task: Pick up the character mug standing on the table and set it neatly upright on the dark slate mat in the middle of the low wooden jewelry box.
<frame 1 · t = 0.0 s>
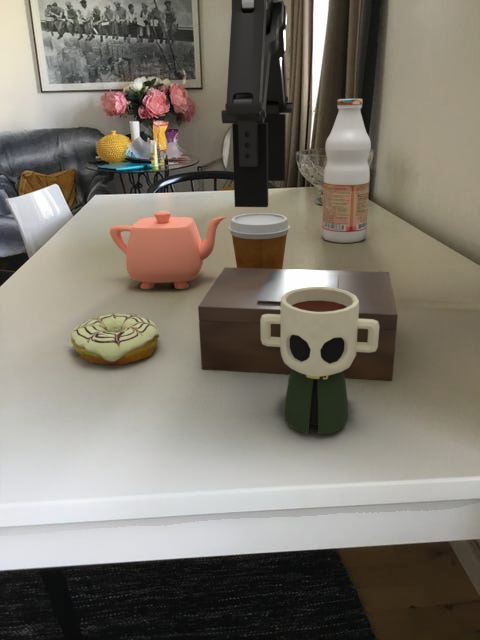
hand: (263, 192, 53), 22 cm above the table, tool pointing down, fingers open, 13 cm apart
wooden jewelry box: (299, 347, 72), on the table
character mug: (315, 423, 56), on the table
fruit juice: (343, 239, 122), on the table
decorated donut: (117, 352, 73), on the table
disposable coffee cup: (260, 293, 92), on the table
teapot: (172, 282, 98), on the table
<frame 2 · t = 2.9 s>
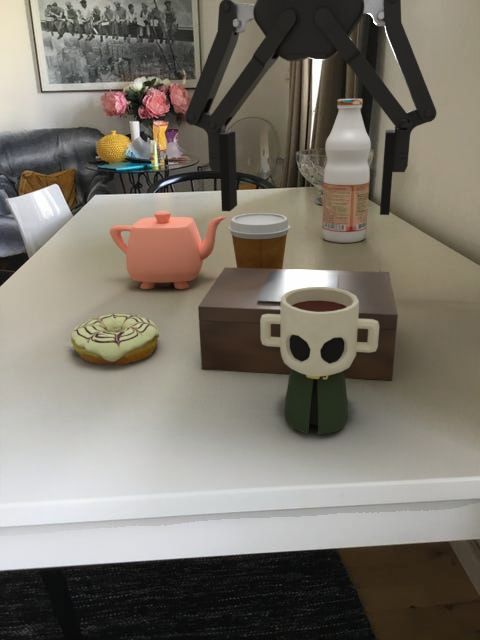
hand: (304, 210, 50), 21 cm above the table, tool pointing down, fingers open, 13 cm apart
nothing on the table moved.
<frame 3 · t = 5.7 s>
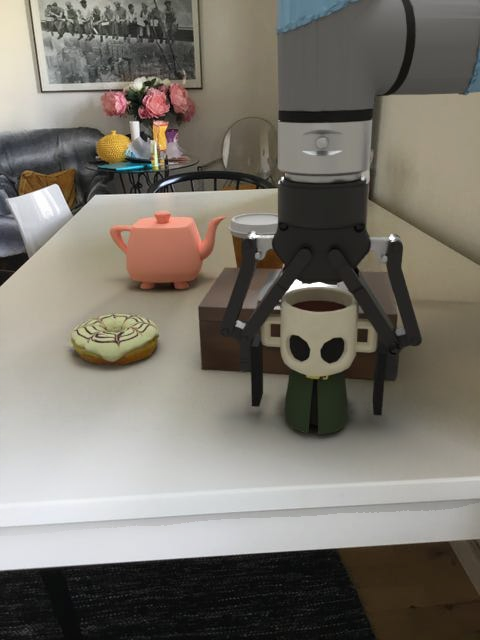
hand: (316, 403, 55), 2 cm above the table, tool pointing down, fingers closed on character mug, 11 cm apart
character mug: (315, 423, 56), on the table, touching gripper
everything else where it was.
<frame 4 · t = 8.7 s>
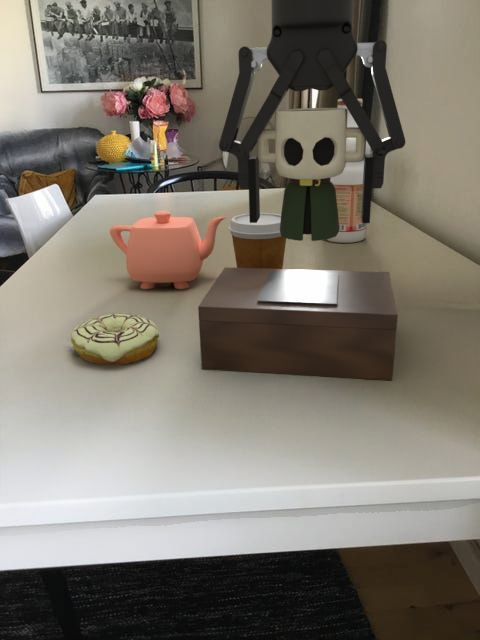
hand: (309, 220, 60), 18 cm above the table, tool pointing down, fingers closed on character mug, 11 cm apart
character mug: (309, 240, 61), point 15 cm above the table, touching gripper
everything else where it was.
when the fingers open (10 cm above the table, at t = 11.7 s): character mug stays where it is, resting on wooden jewelry box.
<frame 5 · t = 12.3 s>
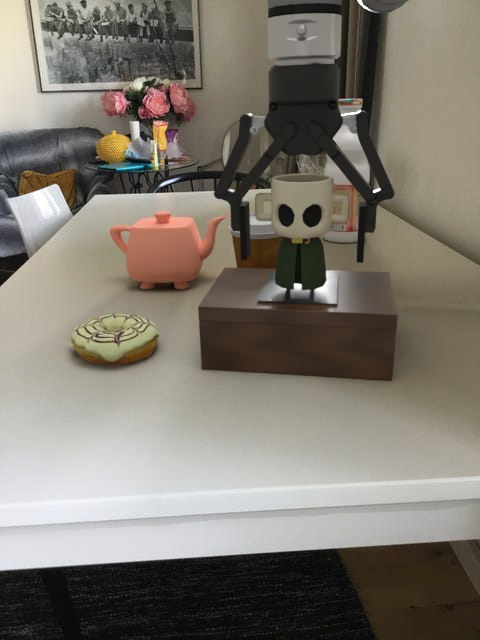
hand: (301, 258, 68), 12 cm above the table, tool pointing down, fingers open, 13 cm apart
character mug: (300, 287, 69), point 8 cm above the table, touching wooden jewelry box
everything else where it was.
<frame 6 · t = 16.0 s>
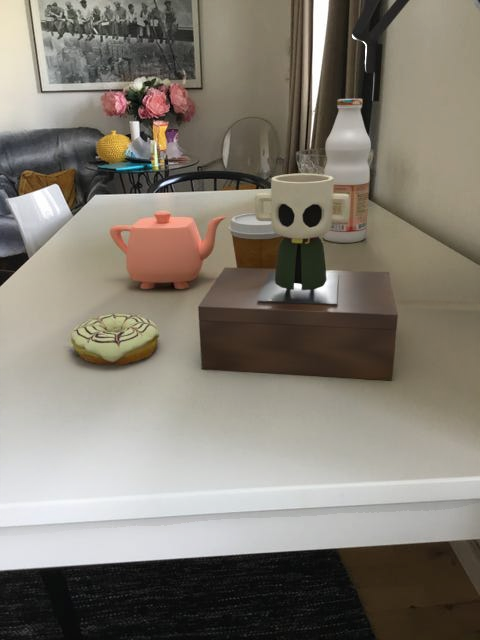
hand: (430, 100, 71), 29 cm above the table, tool pointing down, fingers open, 13 cm apart
nothing on the table moved.
at the end: character mug 0.0 cm off-centre on the wooden jewelry box, point 8.0 cm above the wooden jewelry box's base; character mug tilted 0°; the gripper is holding nothing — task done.
